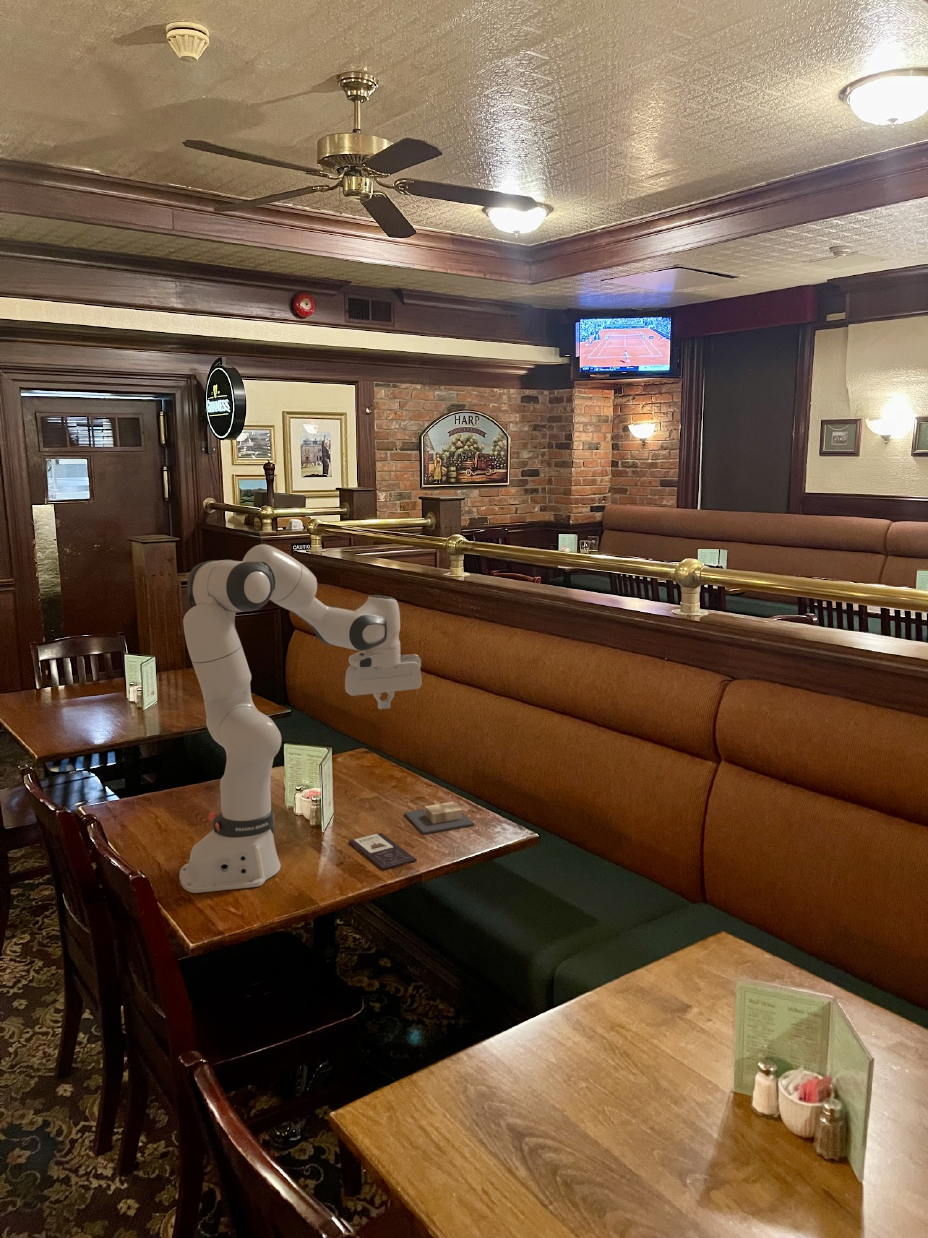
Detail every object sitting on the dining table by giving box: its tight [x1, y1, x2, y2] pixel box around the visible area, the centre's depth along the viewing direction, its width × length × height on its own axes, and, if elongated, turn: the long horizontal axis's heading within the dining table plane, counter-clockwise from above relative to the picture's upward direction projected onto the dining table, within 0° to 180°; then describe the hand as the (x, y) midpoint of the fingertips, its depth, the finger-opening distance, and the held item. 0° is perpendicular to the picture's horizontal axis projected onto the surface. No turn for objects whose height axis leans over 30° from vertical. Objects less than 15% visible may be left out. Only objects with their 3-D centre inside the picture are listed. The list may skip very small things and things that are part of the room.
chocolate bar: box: [348, 832, 418, 871], centre depth 221 cm, size 9×1×18 cm
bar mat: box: [404, 808, 475, 835], centre depth 240 cm, size 14×14×1 cm
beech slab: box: [424, 801, 463, 824], centre depth 240 cm, size 6×2×8 cm
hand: (384, 708), depth 240 cm, fingers closed
